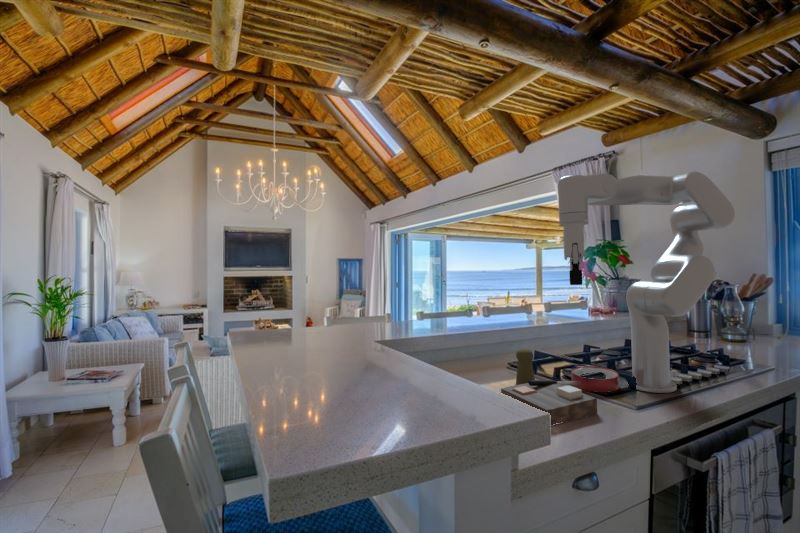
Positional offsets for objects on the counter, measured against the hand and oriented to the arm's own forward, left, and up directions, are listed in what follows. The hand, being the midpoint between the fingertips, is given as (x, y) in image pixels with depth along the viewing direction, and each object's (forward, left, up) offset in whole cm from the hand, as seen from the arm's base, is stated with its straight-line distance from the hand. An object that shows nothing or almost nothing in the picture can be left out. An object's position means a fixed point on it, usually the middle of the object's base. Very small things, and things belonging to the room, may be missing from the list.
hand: (576, 284), depth 112 cm
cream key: (+10, +6, -29) cm, 32 cm away
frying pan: (-1, -3, -32) cm, 33 cm away
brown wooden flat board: (+14, +2, -32) cm, 35 cm away
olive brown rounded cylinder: (+6, -16, -32) cm, 37 cm away
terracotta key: (+18, -2, -30) cm, 35 cm away
